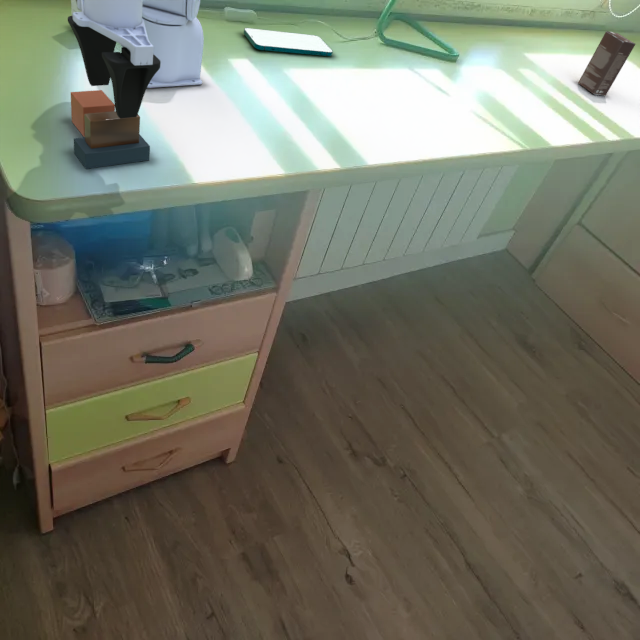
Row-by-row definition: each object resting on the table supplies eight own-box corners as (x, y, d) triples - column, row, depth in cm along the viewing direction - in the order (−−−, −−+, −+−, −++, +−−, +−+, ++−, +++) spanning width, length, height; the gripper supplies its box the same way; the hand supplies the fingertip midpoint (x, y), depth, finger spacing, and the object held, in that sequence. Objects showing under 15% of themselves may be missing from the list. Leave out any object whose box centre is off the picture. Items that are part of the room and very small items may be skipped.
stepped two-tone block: (136, 145, 77) (138, 104, 74) (149, 160, 76) (151, 119, 72) (73, 153, 73) (72, 110, 69) (85, 169, 71) (84, 126, 68)
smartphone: (317, 40, 121) (241, 32, 114) (318, 35, 120) (242, 27, 113) (333, 57, 116) (255, 50, 109) (334, 53, 116) (256, 45, 108)
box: (606, 96, 140) (637, 43, 132) (592, 94, 138) (622, 41, 130) (590, 84, 144) (619, 32, 136) (576, 82, 142) (604, 30, 134)
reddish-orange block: (102, 118, 80) (101, 89, 77) (114, 134, 78) (115, 104, 75) (71, 121, 78) (70, 91, 75) (83, 137, 76) (83, 107, 73)
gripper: (45, -59, 62) (53, 72, 71) (104, -2, 55) (104, 135, 64) (112, -54, 66) (111, 70, 75) (176, -1, 59) (166, 128, 68)
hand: (112, 99), depth 69 cm, fingers open, 7 cm apart
